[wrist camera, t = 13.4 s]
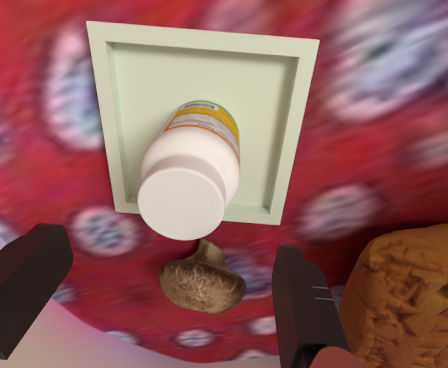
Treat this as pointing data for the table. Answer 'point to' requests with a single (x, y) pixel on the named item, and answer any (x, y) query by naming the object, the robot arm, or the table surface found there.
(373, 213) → the table surface
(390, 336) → the clay tablet
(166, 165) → the supplement bottle
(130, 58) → the tray
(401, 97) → the table surface
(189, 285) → the mushroom
